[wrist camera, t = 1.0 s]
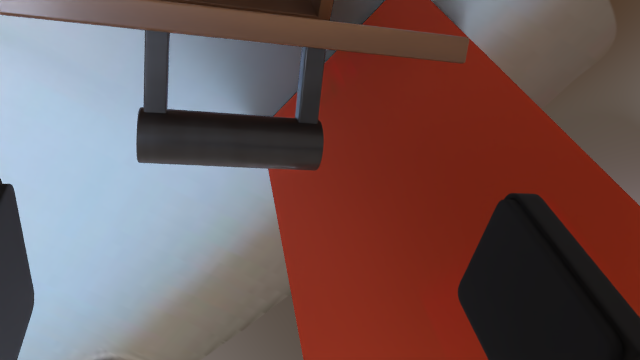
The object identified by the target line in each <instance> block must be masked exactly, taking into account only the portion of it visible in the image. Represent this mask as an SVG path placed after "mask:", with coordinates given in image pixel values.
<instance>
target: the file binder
mask: <svg viewBox="0 0 640 360" xmlns="http://www.w3.org/2000/svg"><path fill="white" fill-rule="evenodd" d="M362 25H369V26H378V27H386V28H394V29H403V30H411V31H419V32H428V33H436V34H444V35H452V36H461V37H467V36H466V35H465V34H464V33H463V32H462V31H461V30H460V29H459V28H458V27H457V26H456V25H455V24H454V23H453V22H452V21H451V20H450V19H449V18H448V17H447V16H446V15H445V14H444V13H443V12H442V11H441V10H440V9H439V8H438V7H437V6H436V5H435V4H434V3H433V2H432V1H431V0H385V1H384V2H383V3H382V4H381V5H380V6H379V7H378V8H377V10H376V11H375V12H374V13H373V14H372V15H371V16H370V17H369V18H368V19H367V20H366V21H365V22H364V23H363V24H362ZM297 92H298V91H297ZM297 92H296V93H295V94H294V96H293V97H292V98H291V99H290V100H289V101H288V102H287V103H286V104H285V105H284V106H283V107H282V108H281V109H280V110H279V111H278V112H277V113H276V114H275V115H274V116H273V117H286V118H295V112H296V102H297ZM318 120H319V121H321V124H322V127H323V134H324V146H323V155H322V160H321V163H320V166H319V168H318V169H317V170H315V171H312V170H290V169H268V170H269V176H270V181H271V186H272V192H273V197H274V203H275V208H276V213H277V219H278V224H279V230H280V235H281V240H282V246H283V251H284V256H285V262H286V267H287V273H288V278H289V283H290V289H291V294H292V299H293V305H294V310H295V316H296V321H297V326H298V332H299V337H300V343H301V348H302V353H303V359H304V360H488V358H487V356H486V354H485V352H484V350H483V348H482V346H481V344H480V342H479V340H478V338H477V336H476V334H475V332H474V330H473V328H472V326H471V324H470V322H469V320H468V318H467V316H466V314H465V312H464V310H463V308H462V306H461V304H460V301H459V298H458V286H459V284H460V281H461V279H462V277H463V275H464V273H465V271H466V269H467V267H468V265H469V263H470V260H471V258H472V256H473V254H474V252H475V250H476V248H477V246H478V244H479V241H480V239H481V237H482V235H483V233H484V231H485V229H486V227H487V225H488V223H489V220H490V218H491V216H492V214H493V212H494V210H495V208H496V206H497V204H498V202H499V201H501V200H504V198H505V197H506V196H507V195H508V194H510V193H528V194H537V195H539V196H540V197H541V198H542V199H543V200H544V201H545V202H546V204H547V205H548V206H549V207H550V209H551V210H552V211H553V212H554V213H555V215H556V216H557V217H558V218H559V220H560V221H561V222H562V223H563V224H564V226H565V227H566V228H567V229H568V231H569V232H570V233H571V234H572V235H573V237H574V238H575V239H576V240H577V242H578V243H579V244H580V245H581V246H582V248H583V249H584V250H585V251H586V253H587V254H588V255H589V256H590V257H591V259H592V260H593V261H594V262H595V264H596V265H597V266H598V267H599V268H600V270H601V271H602V272H603V273H604V275H605V276H606V277H607V278H608V279H609V281H610V282H611V283H612V284H613V286H614V287H615V288H616V289H617V290H618V292H619V293H620V294H621V295H622V297H623V298H624V299H625V300H626V301H627V303H628V304H629V305H630V306H631V307H632V309H633V310H634V311H635V312H636V314H637V315H638V316H639V317H640V206H639V205H638V204H637V203H636V202H635V201H634V200H633V199H632V198H631V197H630V196H629V195H628V194H627V193H626V192H625V191H624V190H623V189H622V188H621V187H620V186H619V185H618V184H617V183H616V182H615V181H614V180H613V179H612V178H611V177H610V176H609V175H608V174H607V173H606V172H605V171H604V170H603V169H602V168H600V167H599V165H598V164H597V163H596V162H594V161H593V160H592V159H591V158H590V157H589V156H588V155H587V154H586V153H585V152H584V151H583V150H582V149H581V148H580V147H579V146H578V145H577V144H576V143H575V142H574V141H573V140H572V139H571V138H570V137H569V136H568V135H567V134H566V133H565V132H564V131H563V130H562V129H561V128H560V127H559V126H558V125H557V124H556V123H555V122H554V121H553V120H552V119H551V118H550V117H549V116H548V115H547V114H546V113H545V112H544V111H543V110H542V109H541V108H540V107H539V106H538V105H537V104H536V103H535V102H533V101H532V100H531V99H530V98H529V97H528V96H527V95H526V94H525V93H524V92H523V91H522V90H521V89H520V88H519V87H518V86H517V85H516V84H515V83H514V82H513V81H512V80H511V79H510V78H509V77H508V76H507V75H506V74H505V73H504V72H503V71H502V70H501V69H500V68H499V67H498V66H497V65H496V64H495V63H494V62H493V61H492V60H491V59H490V58H489V57H488V56H487V55H486V54H485V53H484V52H483V51H482V50H481V49H480V48H479V47H478V46H477V45H476V44H475V43H473V42H472V41H471V40H470V39H469V44H468V50H467V55H466V61H465V63H463V64H460V63H451V62H442V61H432V60H423V59H413V58H404V57H394V56H385V55H375V54H366V53H356V52H347V51H338V50H337V51H336V52H335V53H334V54H333V55H332V56H331V57H330V58H329V59H328V60H327V61H326V62H325V63H324V71H323V80H322V89H321V98H320V107H319V116H318Z"/></svg>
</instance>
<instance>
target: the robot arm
mask: <svg viewBox="0 0 640 360" xmlns="http://www.w3.org/2000/svg"><path fill="white" fill-rule="evenodd" d="M458 298H459V301H460V304H461V306H462V308H463V310H464V312H465V314H466V316H467V318H468V320H469V322H470V324H471V326H472V328H473V330H474V332H475V334H476V336H477V338H478V340H479V342H480V344H481V346H482V348H483V350H484V352H485V354H486V356H487V358H488V360H640V317H639V316H638V315H637V314H636V312H635V311H634V310H633V309H632V307H631V306H630V305H629V304H628V303H627V301H626V300H625V299H624V298H623V297H622V295H621V294H620V293H619V292H618V290H617V289H616V288H615V287H614V286H613V284H612V283H611V282H610V281H609V279H608V278H607V277H606V276H605V275H604V273H603V272H602V271H601V270H600V268H599V267H598V266H597V265H596V264H595V262H594V261H593V260H592V259H591V257H590V256H589V255H588V254H587V253H586V251H585V250H584V249H583V248H582V246H581V245H580V244H579V243H578V242H577V240H576V239H575V238H574V237H573V235H572V234H571V233H570V232H569V231H568V229H567V228H566V227H565V226H564V224H563V223H562V222H561V221H560V220H559V218H558V217H557V216H556V215H555V213H554V212H553V211H552V210H551V209H550V207H549V206H548V205H547V204H546V202H545V201H544V200H543V199H542V198H541V197H540V196H539V195H537V194H528V193H510V194H508V195H507V196H506V197H505V198H504V200H501V201H499V202H498V204H497V206H496V208H495V210H494V212H493V214H492V216H491V218H490V220H489V223H488V225H487V227H486V229H485V231H484V233H483V235H482V237H481V239H480V241H479V244H478V246H477V248H476V250H475V252H474V254H473V256H472V258H471V260H470V263H469V265H468V267H467V269H466V271H465V273H464V275H463V277H462V279H461V281H460V284H459V286H458ZM33 305H34V289H33V284H32V279H31V274H30V269H29V264H28V259H27V254H26V248H25V243H24V238H23V233H22V228H21V223H20V218H19V213H18V208H17V202H16V197H15V192H14V188H13V186H12V185H11V184H2V181H1V179H0V360H17V358H18V355H19V352H20V349H21V346H22V342H23V339H24V336H25V333H26V330H27V327H28V323H29V320H30V317H31V314H32V310H33Z"/></svg>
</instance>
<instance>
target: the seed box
mask: <svg viewBox="0 0 640 360" xmlns="http://www.w3.org/2000/svg"><path fill="white" fill-rule="evenodd" d="M161 1H170V2H178V3H186V4H195V5H203V6H211V7H220V8H228V9H236V10H245V11H253V12H261V13H269V14H278V15H286V16H294V17H303V18H311V19H319V20H328V21H330V17H331V12H332V7H333V2H334V0H161Z"/></svg>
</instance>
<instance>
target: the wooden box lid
mask: <svg viewBox="0 0 640 360" xmlns="http://www.w3.org/2000/svg"><path fill="white" fill-rule="evenodd" d="M0 15H7V16H16V17H26V18H35V19H45V20H54V21H64V22H73V23H82V24H92V25H101V26H111V27H120V28H130V29H139V30H145V61H144V107H141V108H140V109H139V113H138V121H137V160H138V162H139V163H158V164H180V165H202V166H224V167H246V168H268V169H290V170H312V171H315V170H317V169H318V168H319V166H320V163H321V160H322V155H323V146H324V134H323V127H322V124H321V121H319V120H318V116H319V107H320V98H321V89H322V80H323V71H324V62H325V53H326V49H328V50H338V51H347V52H356V53H366V54H375V55H385V56H394V57H404V58H413V59H423V60H432V61H442V62H451V63H460V64H463V63H465V61H466V55H467V50H468V44H469V38H468V37H461V36H452V35H444V34H436V33H428V32H419V31H411V30H403V29H394V28H386V27H378V26H369V25H361V24H353V23H344V22H336V21H328V20H319V19H311V18H303V17H294V16H286V15H278V14H269V13H261V12H253V11H245V10H236V9H228V8H220V7H211V6H203V5H195V4H186V3H178V2H170V1H161V0H0ZM170 33H177V34H186V35H196V36H205V37H215V38H224V39H234V40H243V41H253V42H262V43H271V44H281V45H290V46H300V47H302V51H301V61H300V71H299V81H298V92H297V102H296V112H295V118H286V117H272V116H258V115H244V114H230V113H216V112H201V111H187V110H173V109H167V104H168V71H169V39H170Z"/></svg>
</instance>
